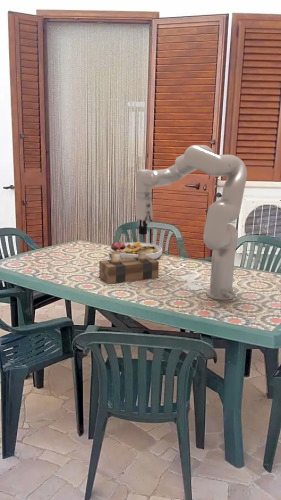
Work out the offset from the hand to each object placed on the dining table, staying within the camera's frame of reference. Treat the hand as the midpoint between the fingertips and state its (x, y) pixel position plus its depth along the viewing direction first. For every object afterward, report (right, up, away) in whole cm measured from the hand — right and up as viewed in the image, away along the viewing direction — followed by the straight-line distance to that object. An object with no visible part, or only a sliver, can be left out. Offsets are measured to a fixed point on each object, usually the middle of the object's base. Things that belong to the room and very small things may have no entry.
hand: (142, 233), depth 217 cm
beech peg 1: (-13, -17, -2) cm, 21 cm away
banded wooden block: (-7, -21, +2) cm, 22 cm away
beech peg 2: (0, -16, +4) cm, 16 cm away
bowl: (-4, -12, +43) cm, 44 cm away
